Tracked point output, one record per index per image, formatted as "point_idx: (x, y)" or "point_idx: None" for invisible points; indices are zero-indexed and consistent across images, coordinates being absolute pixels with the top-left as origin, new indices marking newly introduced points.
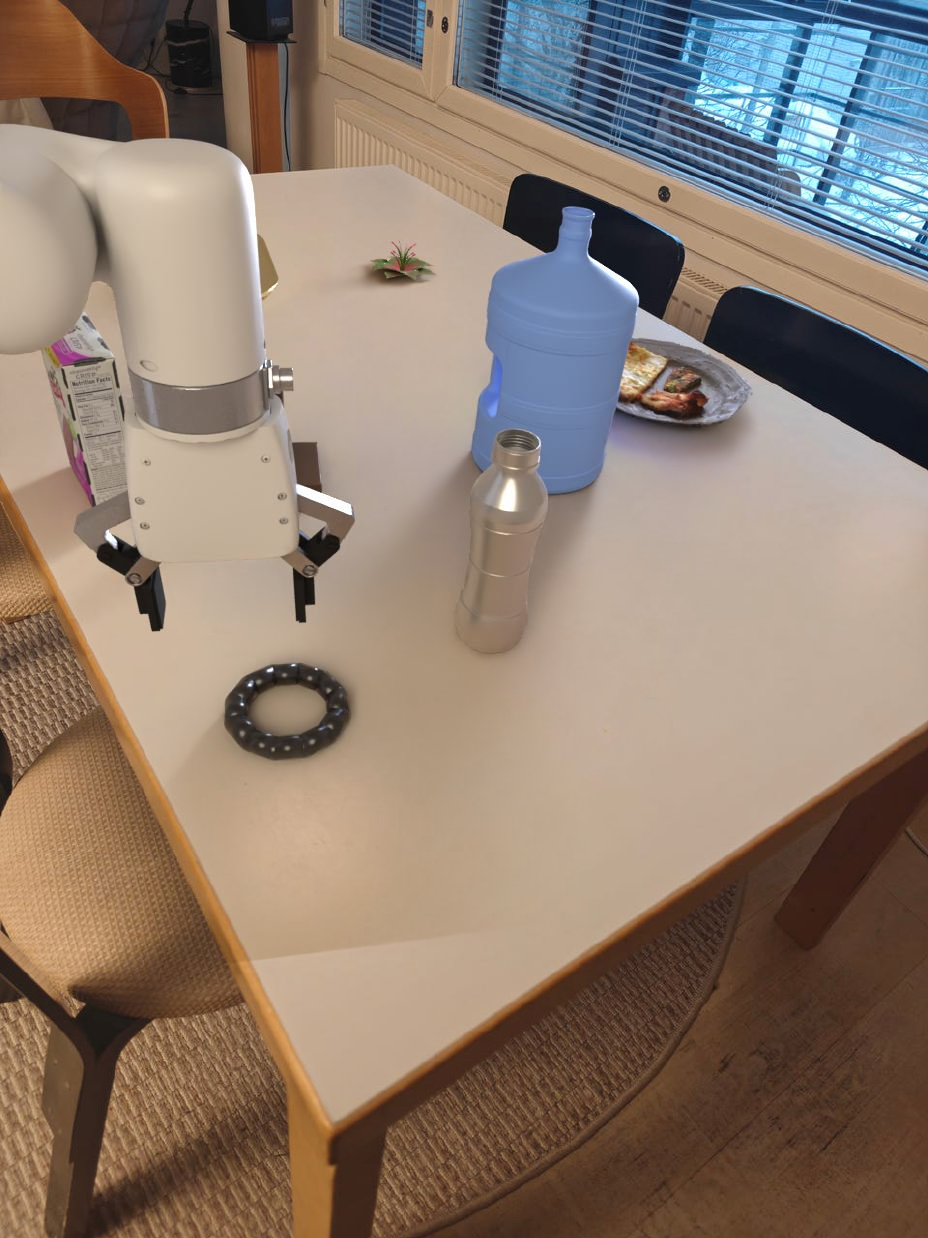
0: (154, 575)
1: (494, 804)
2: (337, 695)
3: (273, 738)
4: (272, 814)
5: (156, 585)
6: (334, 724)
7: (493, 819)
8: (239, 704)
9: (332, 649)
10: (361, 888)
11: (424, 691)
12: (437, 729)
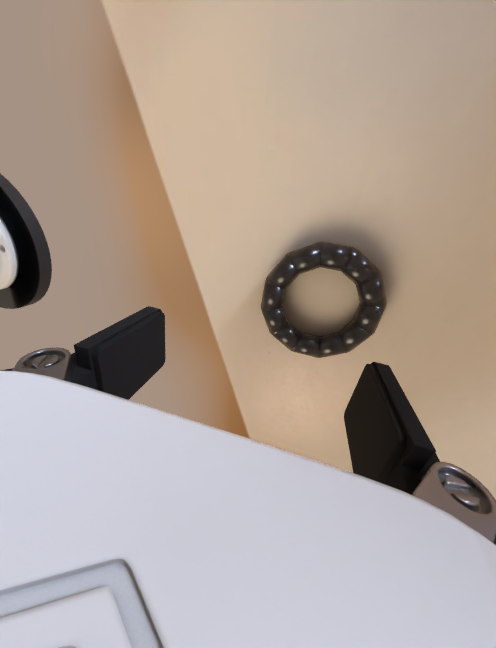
0: (101, 391)
1: (443, 431)
2: (373, 315)
3: (295, 344)
4: (281, 380)
5: (115, 393)
6: (353, 346)
7: (433, 439)
8: (275, 298)
9: (407, 212)
10: (318, 439)
11: (474, 309)
12: (451, 357)
